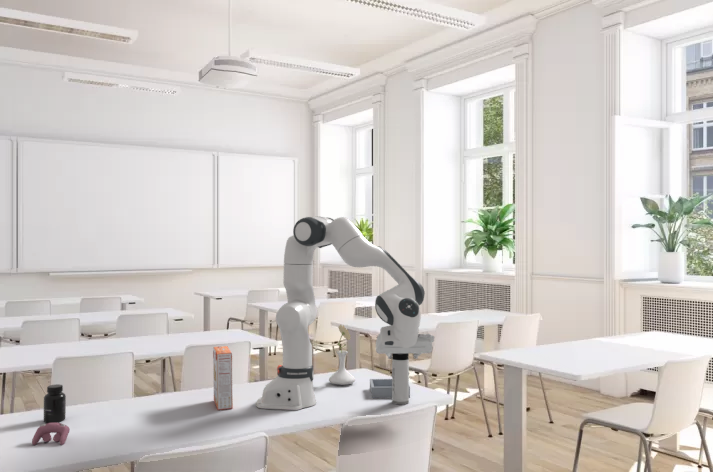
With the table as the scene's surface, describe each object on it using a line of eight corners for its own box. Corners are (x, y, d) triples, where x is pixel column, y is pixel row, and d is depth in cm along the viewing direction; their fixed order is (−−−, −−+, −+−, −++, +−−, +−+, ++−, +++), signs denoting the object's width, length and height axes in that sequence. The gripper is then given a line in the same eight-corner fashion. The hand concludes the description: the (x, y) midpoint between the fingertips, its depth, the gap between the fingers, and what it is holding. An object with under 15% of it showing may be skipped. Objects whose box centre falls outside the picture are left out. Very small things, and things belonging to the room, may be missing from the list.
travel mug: (408, 400, 239) (408, 348, 239) (408, 405, 232) (408, 351, 232) (392, 399, 239) (392, 348, 239) (391, 404, 233) (391, 351, 233)
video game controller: (68, 446, 192) (72, 423, 195) (62, 444, 188) (67, 420, 191) (36, 447, 191) (40, 423, 194) (29, 445, 187) (34, 421, 190)
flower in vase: (357, 386, 260) (357, 327, 260) (330, 387, 259) (330, 327, 259) (353, 379, 273) (353, 322, 273) (327, 380, 272) (327, 323, 272)
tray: (371, 397, 242) (371, 387, 242) (369, 388, 256) (369, 379, 256) (409, 397, 243) (409, 387, 243) (405, 388, 257) (405, 378, 257)
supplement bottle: (41, 424, 209) (41, 388, 209) (45, 418, 215) (45, 384, 215) (63, 422, 211) (63, 387, 211) (67, 417, 217) (67, 382, 217)
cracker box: (212, 400, 238) (212, 346, 238) (228, 399, 240) (228, 345, 240) (216, 410, 225) (216, 353, 225) (232, 409, 227) (232, 352, 227)
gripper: (434, 327, 219) (430, 349, 229) (376, 327, 219) (374, 350, 229) (436, 341, 215) (431, 364, 225) (377, 342, 214) (375, 364, 224)
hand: (402, 357), depth 227 cm, fingers open, 8 cm apart
